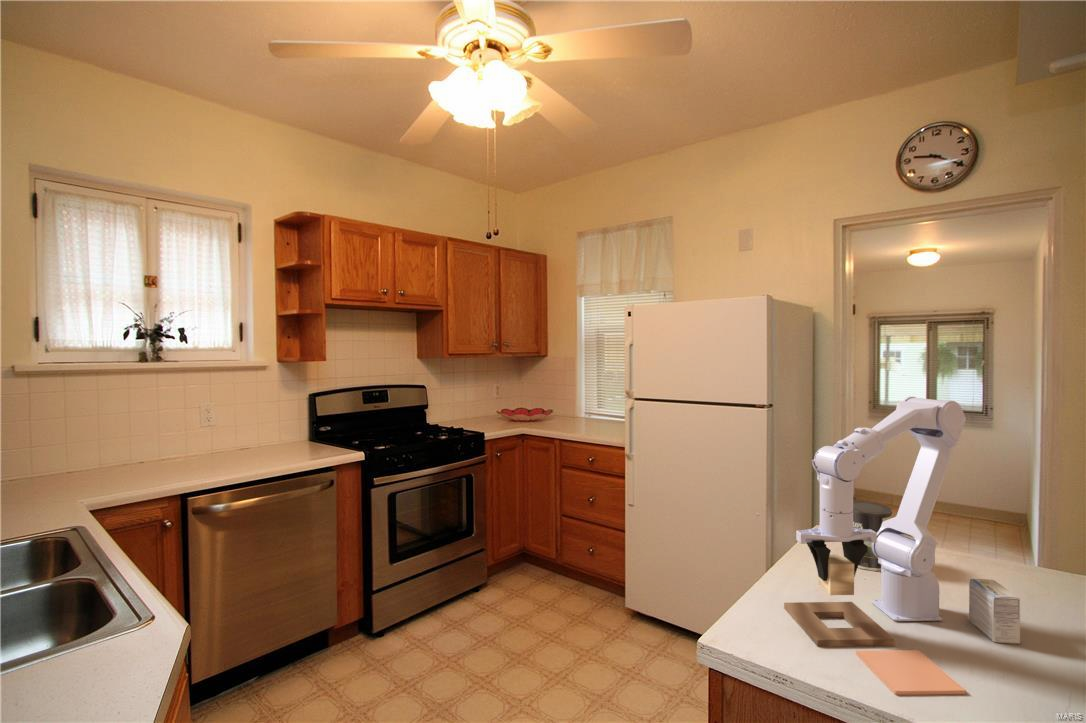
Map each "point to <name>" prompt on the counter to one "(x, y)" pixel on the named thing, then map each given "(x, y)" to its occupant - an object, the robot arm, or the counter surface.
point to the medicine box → (994, 610)
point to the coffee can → (870, 527)
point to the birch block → (839, 576)
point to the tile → (909, 672)
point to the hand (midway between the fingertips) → (836, 578)
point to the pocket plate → (821, 635)
